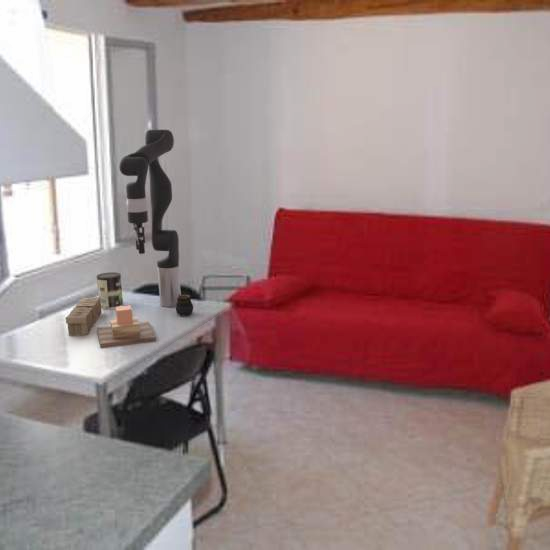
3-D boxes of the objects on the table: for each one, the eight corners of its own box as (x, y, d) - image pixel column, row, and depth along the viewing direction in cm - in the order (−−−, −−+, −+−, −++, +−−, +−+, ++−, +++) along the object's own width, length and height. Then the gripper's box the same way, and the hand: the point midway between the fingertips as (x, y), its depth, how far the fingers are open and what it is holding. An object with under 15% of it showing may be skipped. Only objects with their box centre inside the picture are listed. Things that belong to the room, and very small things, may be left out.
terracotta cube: (116, 320, 251) (115, 307, 249) (131, 319, 252) (130, 305, 251) (118, 325, 246) (116, 310, 244) (132, 323, 247) (131, 309, 246)
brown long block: (83, 316, 279) (66, 337, 251) (82, 297, 278) (64, 316, 249) (102, 316, 280) (87, 336, 251) (100, 296, 278) (85, 315, 249)
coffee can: (125, 302, 295) (123, 271, 292) (120, 309, 285) (117, 277, 282) (102, 302, 296) (100, 272, 292) (96, 309, 285) (93, 278, 282)
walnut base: (97, 331, 257) (95, 317, 255) (148, 324, 262) (147, 311, 261) (100, 347, 238) (99, 333, 237) (155, 340, 244) (154, 326, 243)
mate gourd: (195, 312, 278) (194, 289, 275) (190, 317, 270) (189, 294, 268) (179, 311, 279) (178, 289, 276) (173, 317, 272) (172, 294, 269)
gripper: (149, 211, 246) (152, 254, 249) (144, 206, 259) (147, 247, 263) (129, 213, 243) (132, 256, 247) (125, 208, 256) (128, 249, 260)
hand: (140, 251), depth 255 cm, fingers open, 8 cm apart
